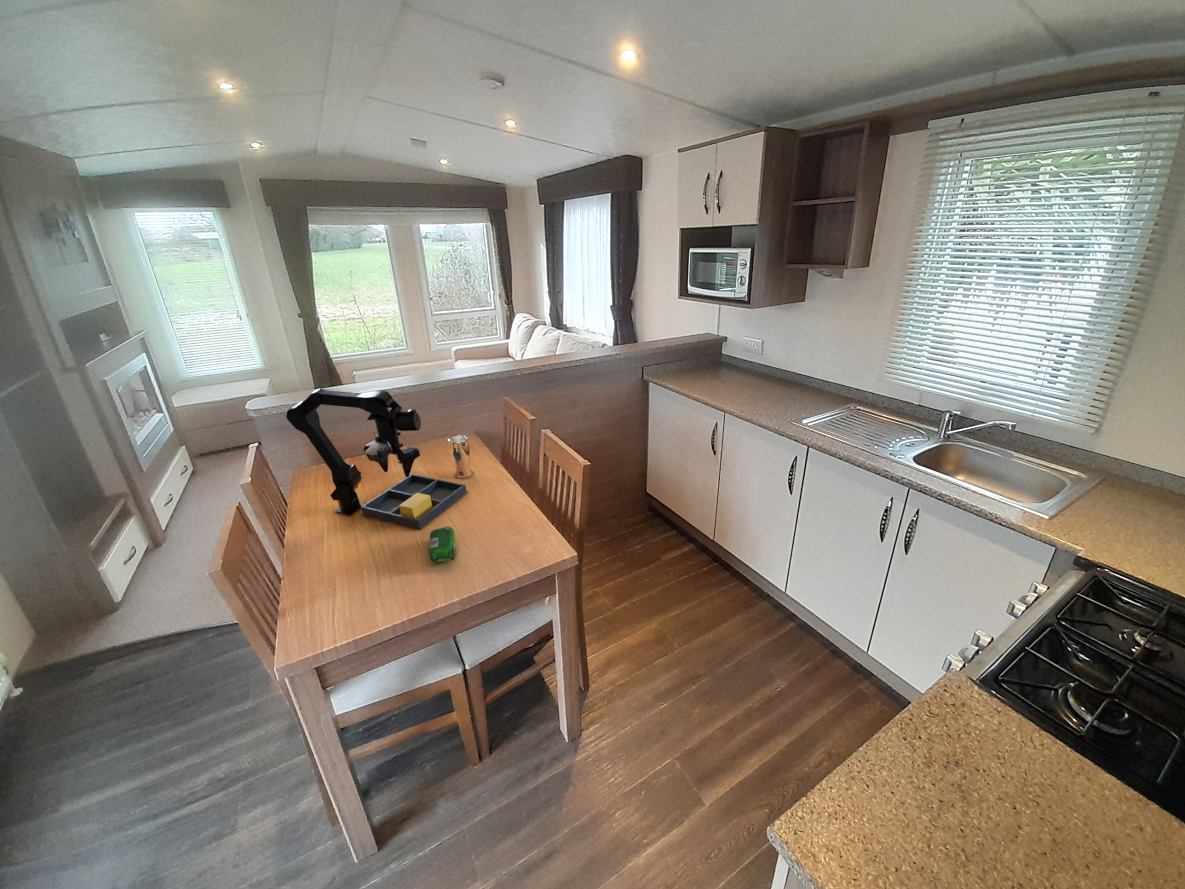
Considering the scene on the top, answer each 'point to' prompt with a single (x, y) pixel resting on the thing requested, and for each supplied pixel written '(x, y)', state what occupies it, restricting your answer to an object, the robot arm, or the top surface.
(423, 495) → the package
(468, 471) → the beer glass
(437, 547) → the snack package
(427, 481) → the tray
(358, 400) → the robot arm
